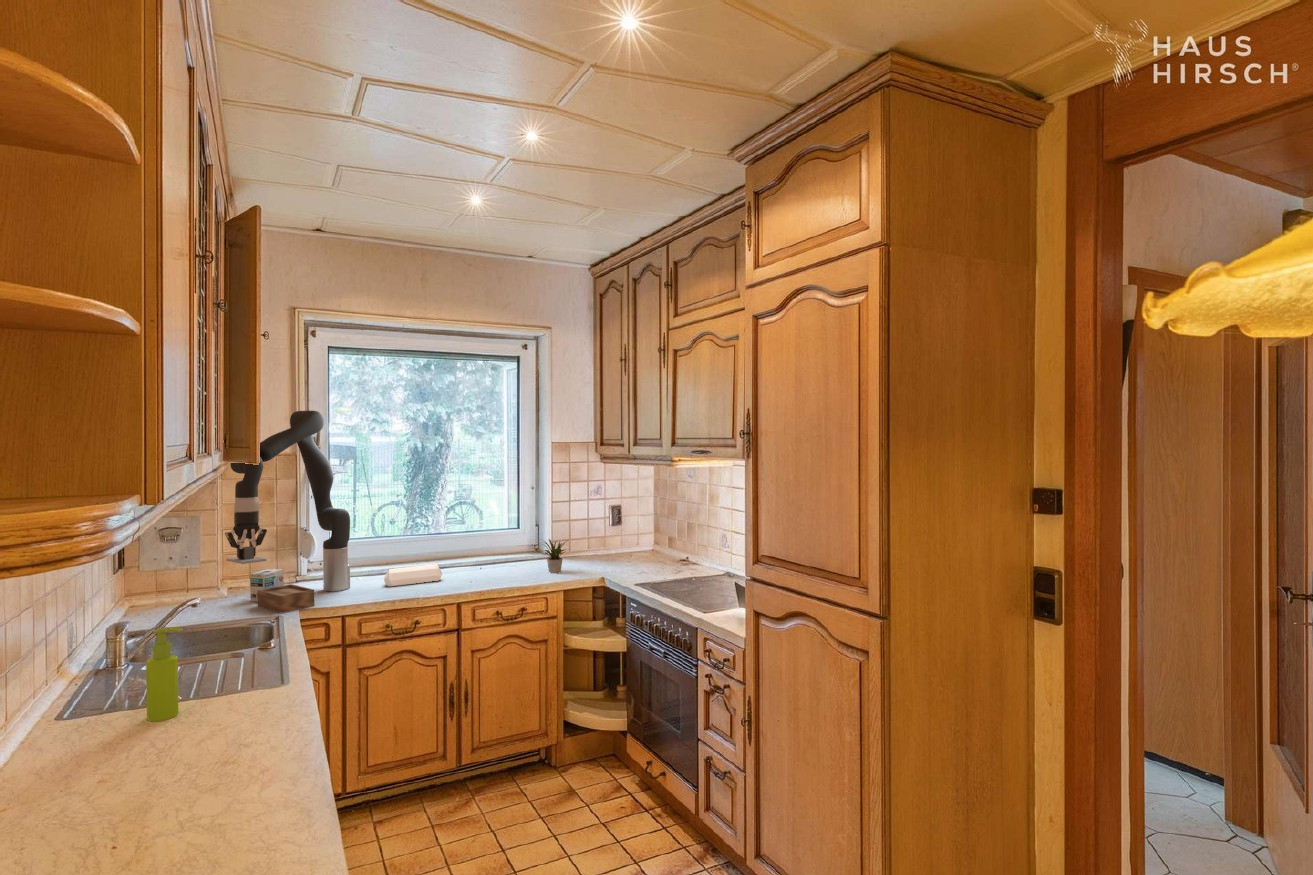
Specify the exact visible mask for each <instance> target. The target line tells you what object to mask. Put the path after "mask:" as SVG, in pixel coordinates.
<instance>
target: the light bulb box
mask: <svg viewBox="0 0 1313 875" xmlns="http://www.w3.org/2000/svg"><path fill="white" fill-rule="evenodd" d="M249 576H250V577H249V578H250V580H249V581H250V582H249V584H250V585H249V586H250V589H249V590H250V592H249V593H250V602H257V590H262V589H268V588H273V587H279V586H284V585H285V583H284V582H285V580H284V579H285V570H284V569H281V568H280V569H279V568H268V569H264V570H259V571H257V572H256V571H255V572H252V573H250V574H249Z"/></svg>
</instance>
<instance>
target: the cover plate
mask: <svg viewBox="0 0 1313 875" xmlns="http://www.w3.org/2000/svg"><path fill="white" fill-rule="evenodd" d="M243 549H244V550H243V559H242V560H240V559H239V558H237V556H236V557H228V558H226V559H225V560H226V562H231V563H235V564H241V565H247V564H254V563H262V562H267V558H264V557H259V556H254V547H250V546H243Z"/></svg>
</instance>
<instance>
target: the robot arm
mask: <svg viewBox="0 0 1313 875" xmlns="http://www.w3.org/2000/svg"><path fill="white" fill-rule="evenodd" d="M289 424H290V426H289V428H287V429H285V430H282V431H279V432H276V433H275V434H272V435H270V436H268V437H267V438H265V439H264V440H262V441H261V442H259V443H260V463H259V465H253V464H245V463H231V462H230V463H229V464H230V469H231V470H232V471H233V472H234V473H236V474H239V475H240V474H242V475H243V479H242V480H239V481H237V482H236V483H235V487H234V489H235V490H234V491H235V492H234V494H235V495H234V496H235V497H234V507H233V509H234V510H233V511H234V512H233V514H234V515H233V516H234V517H233V522H234V524H233V525H234V526H233V528H232V530H229V531H226V532H225V533H224V535H225V538H226V540H227V541H228V543H229V545H230V548H235V549H236V557H237V558H239V559H240V560H242V559H243V550H244V549H243V547H244V545H245V541H246V539H247V542H248V545H249V547H254V557H256V553H257V552H256V548H257V547H258V546H261V545H262V544H263V541H264V539H265V537H266V534H267V531H268V530H267V529H266V528H261V527H260V525H259V522H260V521H259V520H260V519H259V517H260V516H259V514H260V513H259V512H260V511H259V510H260V505H259V504H260V503H259V484H260V481H261V477H262V474H263V470H264V463H265V462H269V461H271V460H273V459H274V458H275V457H277V456H278V455H279V454H281V453H282V452H284V451H285V450H287V449H288V448H290V447H292V446H293V445H295V444H297V446H298V448H299V452H300V455H301V458H302V462H303V465H304V468H305V472H306V477H307V480H308V483H309V485H310V489H311V493H312V496H313V500H314V505H315V507H314V508H315V512H316V518H317V522H318V524H319V526H320V528H321V529H323V530H324V531H329V532H331V534H330V537H329V538H328V539H326V540H324V541H323V543H322V559H323V560H322V562H323V563H322V567H323V568H322V569H323V571H322V572H323V574H322V575H323V577H322V578H323V580H322V582H323V592H339V591H345V590H347V589H350V588H351V565H350V564H349V562H348V561H349V554H348V552H349V549H348V547H349V546H348V543H349V541H350V536H351V533H350V532H351V516H350V513H349V511H348V510H346V509H345V508H334V507H333V504H332V500H331V491H332V487H333V484H334V479H335V478H334V473H333V469H332V466H331V462H330V461H329V459H328V457H327V456H326V455H325V453H324V452H323V451H322V450H321V449H320V448H319V446H318V445H317V444H316V443H315V440H314V437H313V435H315V434H318V433H320V432H321V430H322V429H323V428H324V426H325V418H324V416H323V415H322V413H321V412H319V411H317V410H297V411H294V412H292V413H291V415H290V417H289ZM256 534H258V535H257V537H256ZM235 535H236V539H235Z"/></svg>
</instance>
